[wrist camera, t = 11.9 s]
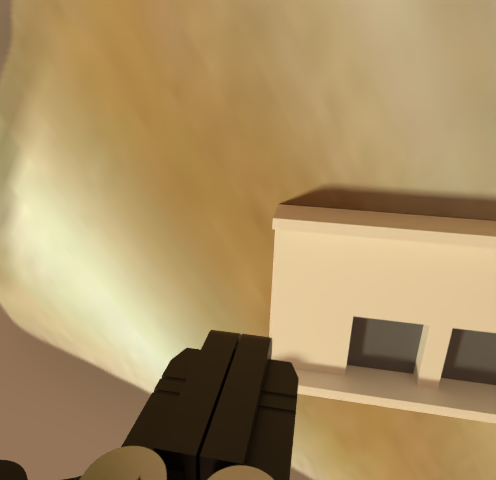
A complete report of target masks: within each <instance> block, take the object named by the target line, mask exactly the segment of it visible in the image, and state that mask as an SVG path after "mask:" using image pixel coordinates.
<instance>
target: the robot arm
mask: <svg viewBox="0 0 496 480" xmlns="http://www.w3.org/2000/svg"><path fill="white" fill-rule="evenodd" d="M271 357H272V338H270V337H263V336H255V335H247V334H242V335H241V334H239V333H231V332H223V331H216V330H211V331H210V332H209V334H208V336H207V338H206V340H205V342H204V345H203V347H202V349H201V350H199V349H192V348H186V349H185V350H183V351H182V352H181V353H179V354H178V355H177V356H176V357H174V358H173V359H172V360H171V361H170V363H169V364H168V366H167V368H166V370H165V371H164V373H163V375H162V379H160V380H159V382H158V384H157V385H156V387H155V389H154V393H153V392H152V394H151V396H150V398H149V400H148V401H147V403H146V405H145V406H144V408H143V410H142V412H141V413H140V415H139V417H138V419H137V420H136V422H135V424H134V426H133V428H132V429H131V431H130V433H129V434H128V436H127V438H126V440H125V441H124V443H123V445H122V446H121V448H117V449H114V450H112V451H109V452H107V453H105V454H104V455H102V456H101V457H99V458H98V459H96V460H95V461H94V462H93V463H92V464H91V465H90V466H89V467H88V469H87V470H86V471H85V472H84V474H83V475H82V476H79V477H76V478H70V479H64V480H289V477H290V467H291V457H292V446H293V436H294V425H295V414H296V403H297V392H298V382H299V378H298V376H297V373H296V371H295V369H294V367H293V365H292V363H291V362H286V361H279V360H272V359H271ZM0 480H28V479H27V475H26V472H25V471H24V469H23V468H22V467H21V466H20V465H19V464H17V463H15V462H12V461H8V460H0Z"/></svg>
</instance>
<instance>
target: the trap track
mask: <svg viewBox="0 0 496 480" xmlns="http://www.w3.org/2000/svg"><path fill="white" fill-rule="evenodd" d="M272 229H275V243H274V261H273V278H272V296H271V313H270V331H269V337H270V338H272V357H271V359H272V360H279V361H286V362H291V363H292V365H293V367H294V369H295V371H296V373H297V376H298V378H299V382H298V392H297V394H304V395H310V396H317V397H324V398H330V399H337V400H344V401H350V402H357V403H363V404H370V405H377V406H383V407H390V408H397V409H403V410H410V411H417V412H423V413H430V414H436V415H443V416H450V417H456V418H463V419H470V420H476V421H483V422H490V423H496V221H489V220H477V219H464V218H451V217H438V216H425V215H412V214H399V213H387V212H374V211H361V210H348V209H335V208H322V207H310V206H297V205H284V204H279V205H278V207H277V210H276V212H275V215H274V217H273V228H272Z"/></svg>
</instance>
